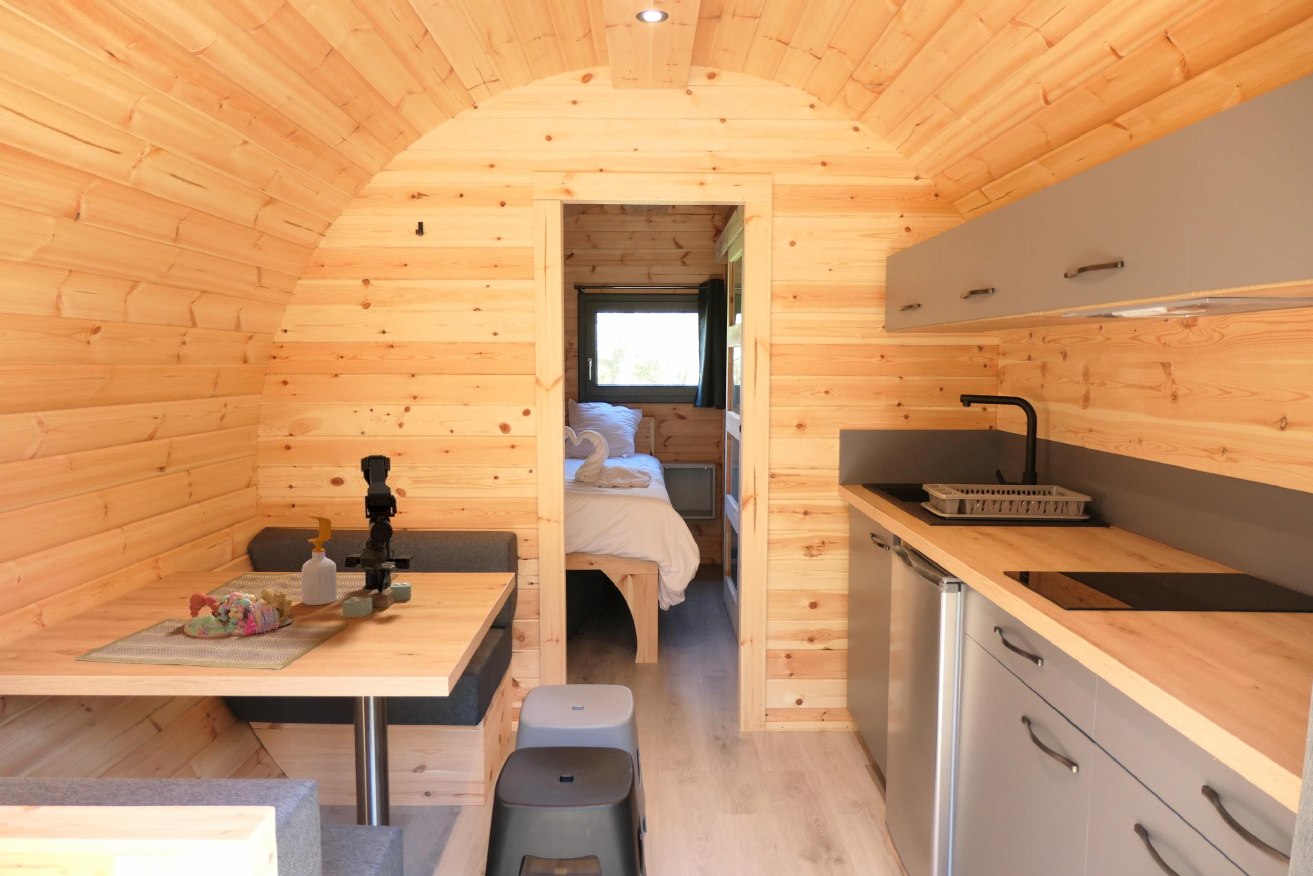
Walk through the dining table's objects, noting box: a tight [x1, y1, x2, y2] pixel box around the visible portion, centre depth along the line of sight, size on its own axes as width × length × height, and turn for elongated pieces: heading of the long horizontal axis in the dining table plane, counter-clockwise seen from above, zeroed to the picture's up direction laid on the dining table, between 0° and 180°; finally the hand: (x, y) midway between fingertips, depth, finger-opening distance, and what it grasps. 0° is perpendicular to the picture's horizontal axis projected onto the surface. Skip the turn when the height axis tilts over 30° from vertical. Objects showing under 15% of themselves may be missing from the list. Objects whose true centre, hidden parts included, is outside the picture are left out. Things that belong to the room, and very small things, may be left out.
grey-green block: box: [341, 596, 373, 619], centre depth 225 cm, size 6×6×4 cm
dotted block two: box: [389, 581, 412, 601], centre depth 242 cm, size 6×6×4 cm
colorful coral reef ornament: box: [183, 588, 293, 639], centre depth 215 cm, size 25×24×9 cm
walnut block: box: [367, 589, 395, 610], centre depth 234 cm, size 6×6×4 cm
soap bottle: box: [301, 515, 338, 606], centre depth 237 cm, size 9×9×25 cm
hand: (380, 591), depth 234 cm, fingers closed
